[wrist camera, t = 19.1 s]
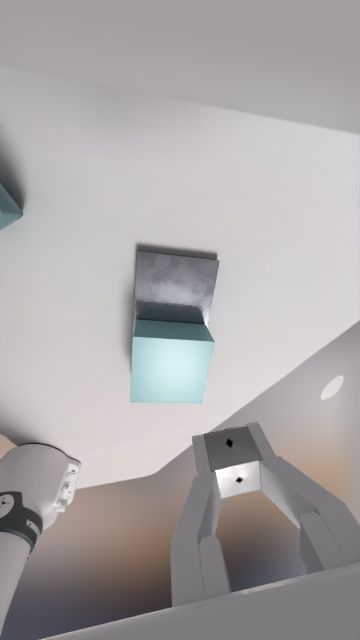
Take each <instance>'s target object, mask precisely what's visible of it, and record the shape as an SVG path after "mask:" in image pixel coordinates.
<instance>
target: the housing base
mask: <svg viewBox="0 0 360 640" xmlns="http://www.w3.org/2000/svg"><path fill="white" fill-rule="evenodd" d="M218 266H219V261H218V260H214V259H206V258H197V257H189V256H180V255H171V254H163V253H154V252H146V251H137V257H136V280H135V304H134V327H133V333H134V329H135V325H136V320H151V321H164V322H178V323H192V324H205V325H206V327H207V325H208V320H209V315H210V309H211V304H212V298H213V293H214V288H215V282H216V277H217V271H218Z"/></svg>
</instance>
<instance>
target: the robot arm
mask: <svg viewBox="0 0 360 640" xmlns="http://www.w3.org/2000/svg"><path fill="white" fill-rule="evenodd" d="M203 435H204V436H203ZM204 440H205V441H204ZM192 442H193V448H194V454H195V460H196V466H197V472H198V476H195V477H194V480H193V483H192V485H191V488H190V491H189V494H188V496H187V499H186V502H185V504H184V507H183V510H182V513H181V516H180V518H179V521H178V524H177V527H176V529H175V532H174V535H173V537H172V540H171V543H170V555H171V579H172V580H171V581H172V608H168V609H164V610H160V611H155V612H151V613H147V614H143V615H139V616H135V617H131V618H127V619H123V620H118V621H114V622H110V623H106V624H102V625H98V626H94V627H90V628H85V629H81V630H77V631H73V632H69V633H65V634H61V635H57V636H53V637H48V638H44V639H40V640H360V525H359V523H358V522H357V520H356V519H355V518H354V516H353V515H352V513H351V512H350V510H349V509H348V507H347V506H346V504H345V503H344V502H342V501H341V500H340V499H338V498H337V497H336V496H334V495H333V494H331V493H330V492H329V491H327V490H326V489H324V488H323V487H322V486H320V485H319V484H318V483H316V482H315V481H313V480H312V479H311V478H309V477H308V476H306V475H305V474H304V473H302V472H301V471H299V470H298V469H297V468H295V467H294V466H293V465H291V464H290V463H289V462H287V461H286V460H284V459H283V458H282V457H280V456H279V457H276V455H275V453H274V451H273V449H272V448H271V446H270V444H269V442H268V440H267V438H266V436H265V434H264V433H263V431H262V429H261V427H260V425H259V423H258V422H253V423H249V424H243V425H239V426H235V427H231V428H227V429H224V430H221V431H216V432H211V433H206V434H201V435H197V436H192ZM205 444H206V445H205ZM80 466H81V464H80V463H79V462H78V461H76V460H73V459H70V458H68V457H67V456H66V455H65V454H63V453H62V452H61V451H59V450H57V449H55V448H52V447H49V446H45V445H39V444H28V445H22V446H18V447H15V448H13V449H11V450H10V451H9V452H7V453H6V455H5V456H4V457H3V458H2V459H1V460H0V634H1V630H2V627H3V624H4V620H5V617H6V614H7V611H8V608H9V605H10V603H11V600H12V597H13V594H14V592H15V589H16V586H17V583H18V581H19V578H20V575H21V573H22V570H23V567H24V565H25V562H26V560H27V559H28V555H29V554H30V553H31V552H32V551H33V548H34V547H35V546H36V544H37V542H38V540H39V537H40V535H41V533H42V531H43V530H44V529H46V528H47V527H49V526H51V525H52V524H53V523H54V522H55V520H56V517H57V515H58V512H65V510H66V506H67V505H68V504H70V503H71V502H72V499H73V496H74V492H75V488H76V483H77V479H78V474H79V470H80ZM260 489H262V491H263V492H264V493H265V494H266V495H267V496H268V497H269V498H270V499H271V500H272V501H273V502H274V504H275V505H277V507H278V508H279V509H280V510H281V511H282V512H283V513H284V514H285V515H286V516H287V517H288V518H289V519H290V520H291V521H292V522H293V523H294V524H295V525H296V526H297V527H298V528H299V529H300V541H299V556H300V559H301V561H302V563H303V566H304V568H305V570H306V573H307V575H304V576H300V577H295V578H291V579H287V580H283V581H279V582H275V583H271V584H267V585H263V586H258V587H254V588H250V589H246V590H242V591H238V592H234V593H232V592H231V588H230V583H229V578H228V574H227V570H226V566H225V562H224V558H223V554H222V550H221V546H220V542H219V539H217V538H216V537H215V532H216V527H217V522H218V517H219V512H220V507H221V502H222V498H226V497H229V496H233V495H237V494H241V493H245V492H250V491H255V490H260Z"/></svg>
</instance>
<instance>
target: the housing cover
mask: <svg viewBox="0 0 360 640" xmlns="http://www.w3.org/2000/svg"><path fill="white" fill-rule="evenodd" d="M213 346H214V340H213V338H212V336H211V334H210V332H209V330H208V329H207V327H206V325H205V324H192V323H178V322H164V321H151V320H136V325H135V329H134V333H133V343H132V366H131V390H130V402H139V403H191V404H202V400H203V395H204V390H205V385H206V380H207V375H208V370H209V365H210V361H211V356H212V351H213Z"/></svg>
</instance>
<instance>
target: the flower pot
mask: <svg viewBox="0 0 360 640" xmlns="http://www.w3.org/2000/svg"><path fill="white" fill-rule="evenodd" d="M22 216H23V212H22V210H21V209H20V207H19V206H18V205H17V203H16V202H15V201H14V199H13V198H12V197H11V196H10V194H9V193H8V192H7V190H6V189H5V188H4V186H3V185H2V184H1V182H0V230H2V229H3V228H5V227H6V226H8V225H10V224H11V223H13V222H14V221H16V220H18V219H19V218H21V217H22Z"/></svg>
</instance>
